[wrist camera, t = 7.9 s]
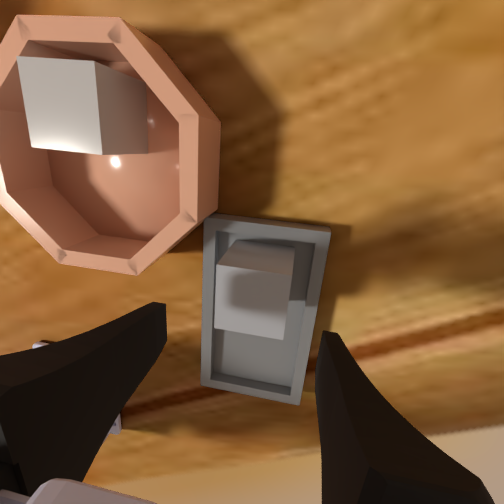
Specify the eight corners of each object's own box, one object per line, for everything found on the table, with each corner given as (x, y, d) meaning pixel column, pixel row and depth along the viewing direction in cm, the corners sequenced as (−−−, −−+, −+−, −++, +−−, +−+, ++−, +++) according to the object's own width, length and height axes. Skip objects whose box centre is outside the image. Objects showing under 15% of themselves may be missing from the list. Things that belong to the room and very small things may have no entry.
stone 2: (287, 300, 20) (283, 339, 16) (232, 291, 21) (214, 327, 17) (295, 247, 19) (292, 275, 15) (235, 239, 19) (216, 264, 15)
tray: (299, 391, 23) (299, 405, 22) (206, 372, 24) (200, 385, 23) (329, 226, 18) (331, 232, 17) (210, 212, 20) (204, 217, 18)
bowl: (215, 260, 21) (196, 285, 17) (56, 237, 23) (7, 255, 19) (223, 48, 16) (199, 18, 12) (23, 41, 18) (-50, 12, 14)
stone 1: (148, 153, 18) (102, 154, 14) (91, 147, 19) (31, 146, 15) (146, 82, 17) (94, 60, 13) (85, 78, 17) (16, 56, 13)
